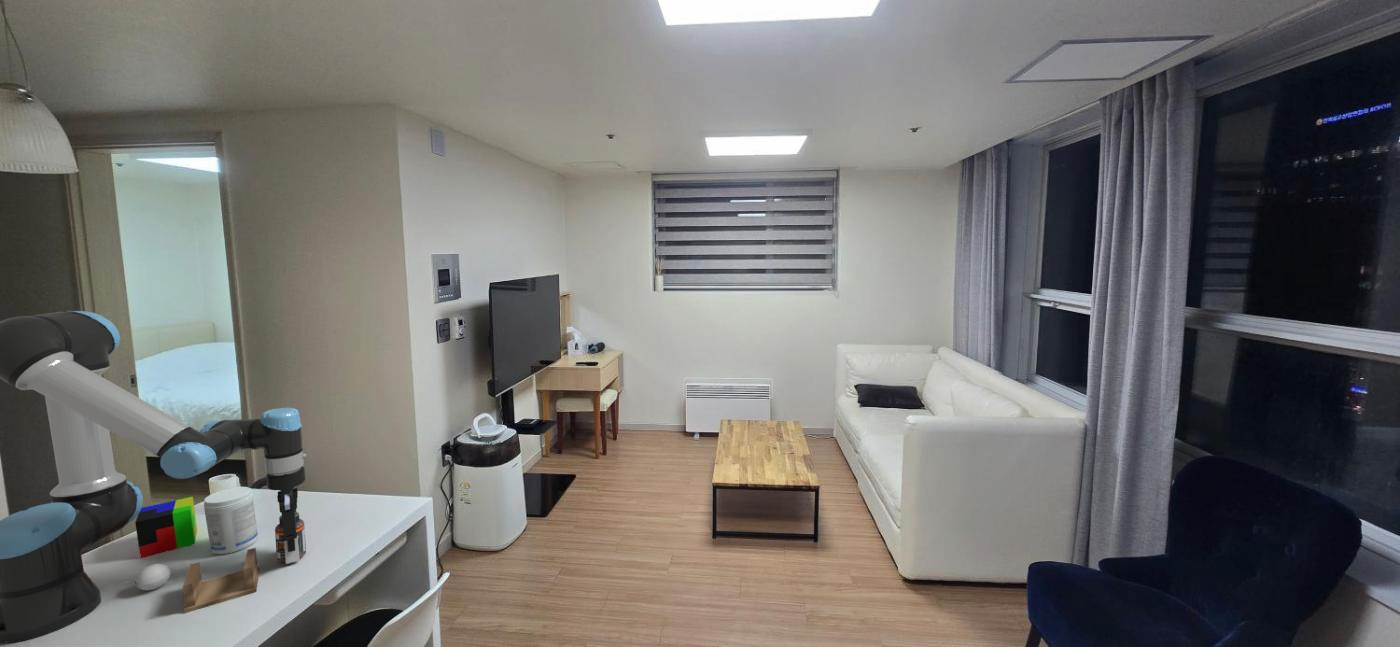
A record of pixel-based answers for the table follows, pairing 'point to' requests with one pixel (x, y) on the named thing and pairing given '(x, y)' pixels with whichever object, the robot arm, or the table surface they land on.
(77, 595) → the robot arm
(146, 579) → the white oval egg shape
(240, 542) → the supplement tub
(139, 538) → the puzzle toy
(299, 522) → the supplement bottle
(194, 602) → the holder cradle
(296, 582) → the table surface
